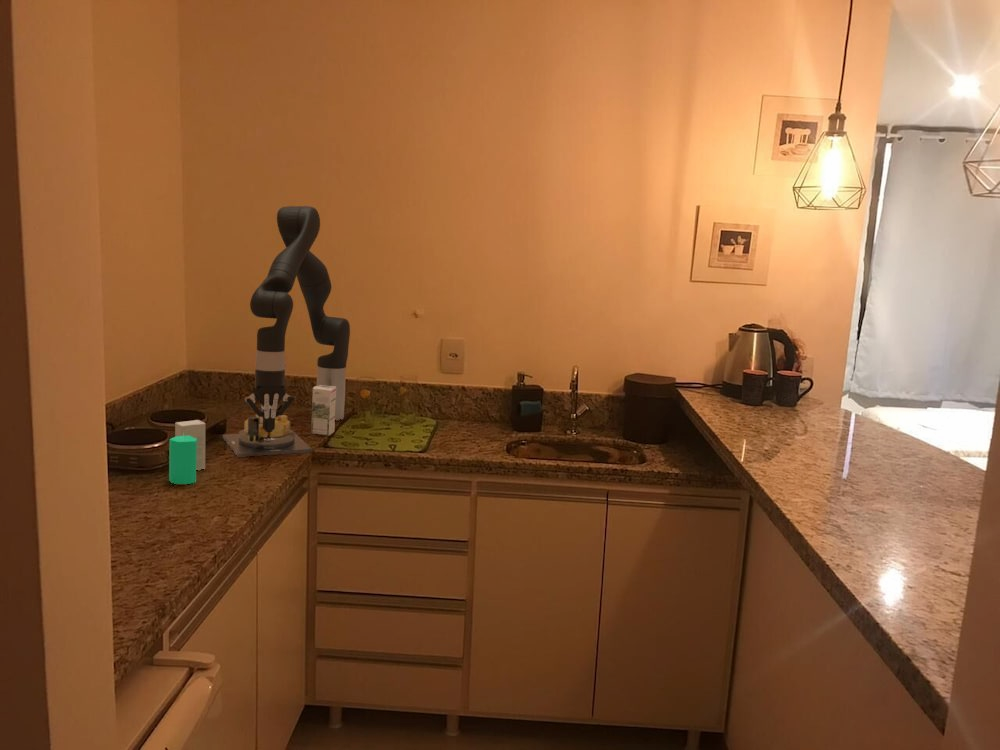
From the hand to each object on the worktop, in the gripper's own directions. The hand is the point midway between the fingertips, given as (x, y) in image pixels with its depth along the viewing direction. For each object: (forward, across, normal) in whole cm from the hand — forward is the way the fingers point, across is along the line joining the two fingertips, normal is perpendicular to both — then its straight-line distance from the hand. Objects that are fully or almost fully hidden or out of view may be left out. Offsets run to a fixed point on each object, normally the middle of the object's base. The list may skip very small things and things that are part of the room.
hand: (268, 431), depth 206 cm
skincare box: (+7, +20, +5) cm, 22 cm away
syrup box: (+7, -22, -20) cm, 31 cm away
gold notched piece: (+3, -1, -8) cm, 9 cm away
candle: (+7, +24, +14) cm, 29 cm away
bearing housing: (+7, -3, -11) cm, 14 cm away
